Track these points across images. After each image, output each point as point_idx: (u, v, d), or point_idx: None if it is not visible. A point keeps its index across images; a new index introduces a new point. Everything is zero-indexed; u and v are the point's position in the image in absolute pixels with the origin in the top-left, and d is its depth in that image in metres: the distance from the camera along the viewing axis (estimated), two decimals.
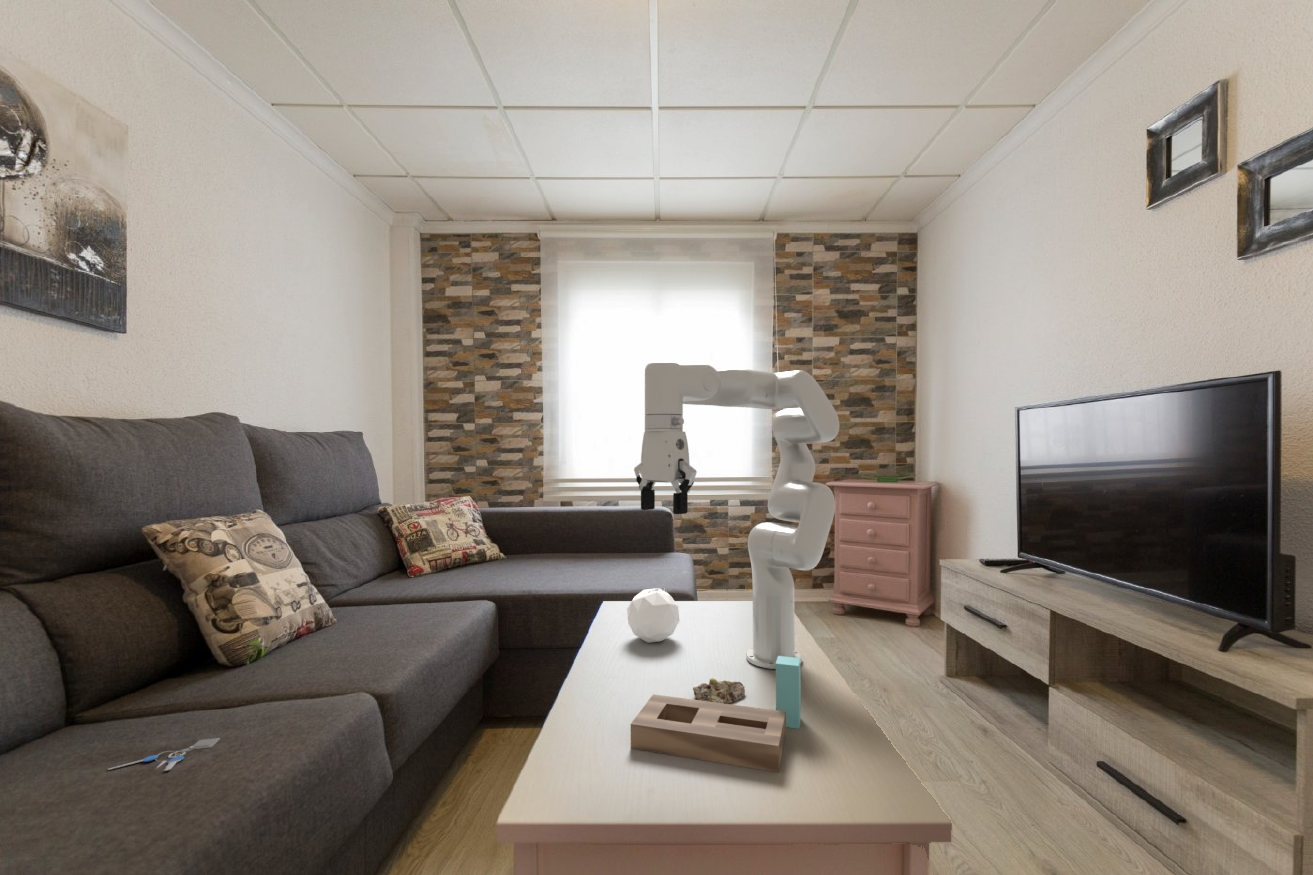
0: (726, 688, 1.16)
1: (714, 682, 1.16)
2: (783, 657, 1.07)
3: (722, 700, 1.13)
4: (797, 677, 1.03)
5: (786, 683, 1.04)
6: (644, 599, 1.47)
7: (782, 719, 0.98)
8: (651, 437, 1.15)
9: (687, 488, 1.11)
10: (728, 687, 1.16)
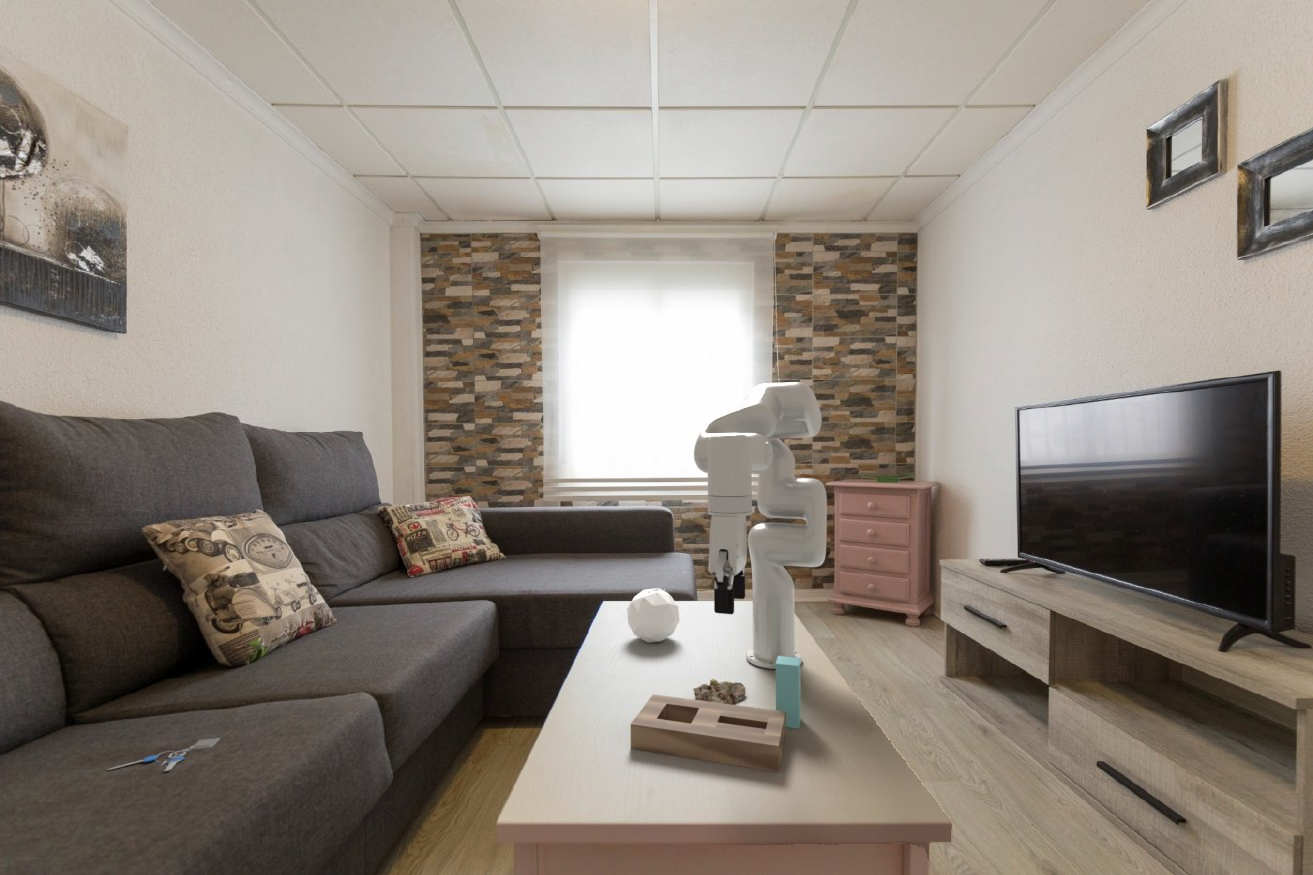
0: (726, 689, 1.15)
1: (715, 683, 1.16)
2: (783, 657, 1.07)
3: (723, 701, 1.12)
4: (797, 677, 1.03)
5: (786, 683, 1.04)
6: (644, 599, 1.47)
7: (782, 719, 0.98)
8: (743, 521, 0.99)
9: None
10: (729, 688, 1.16)
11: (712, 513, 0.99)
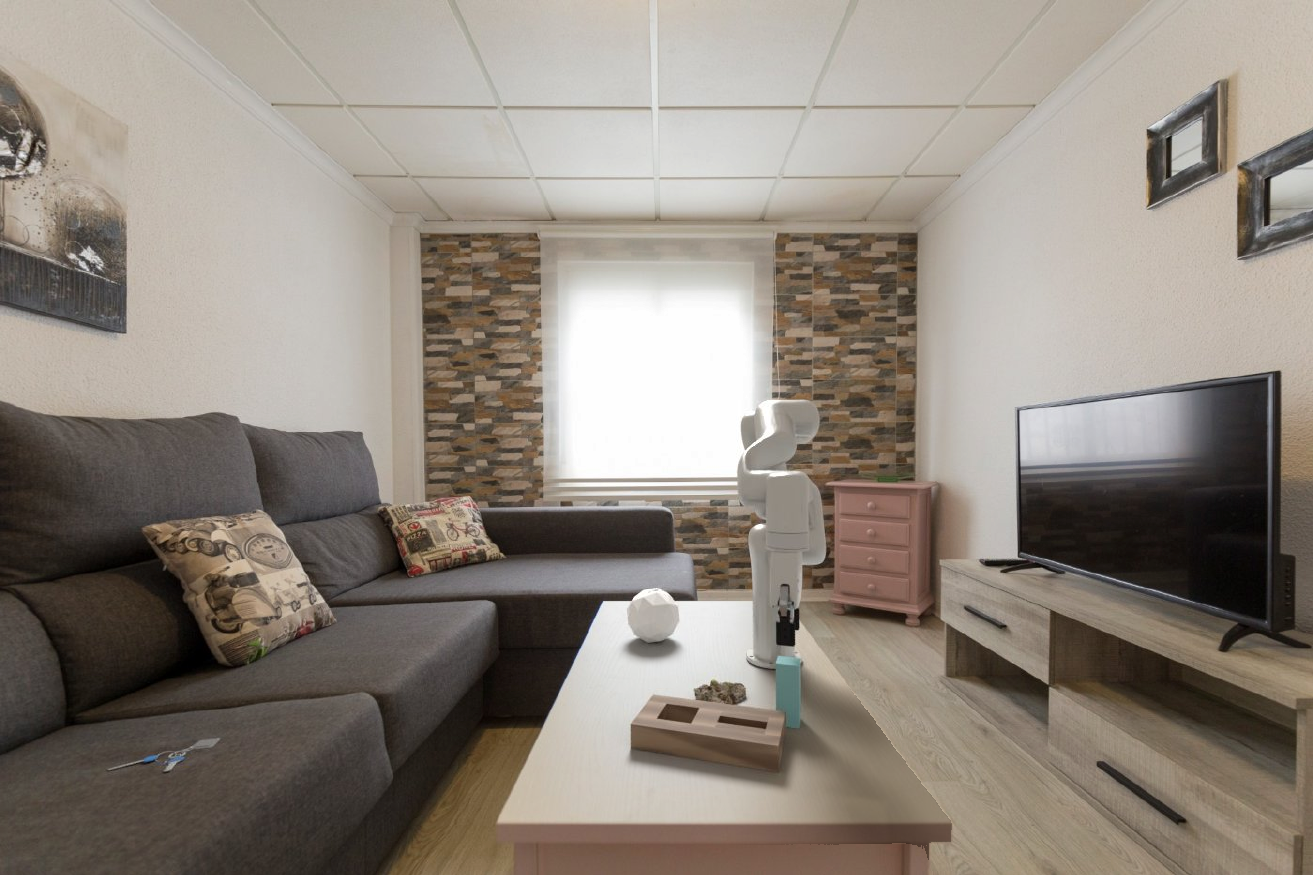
0: (727, 689, 1.15)
1: (715, 683, 1.16)
2: (783, 657, 1.07)
3: (723, 701, 1.12)
4: (797, 677, 1.03)
5: (786, 683, 1.04)
6: (644, 599, 1.47)
7: (782, 719, 0.98)
8: (801, 556, 1.04)
9: None
10: (729, 688, 1.16)
11: (772, 549, 1.04)
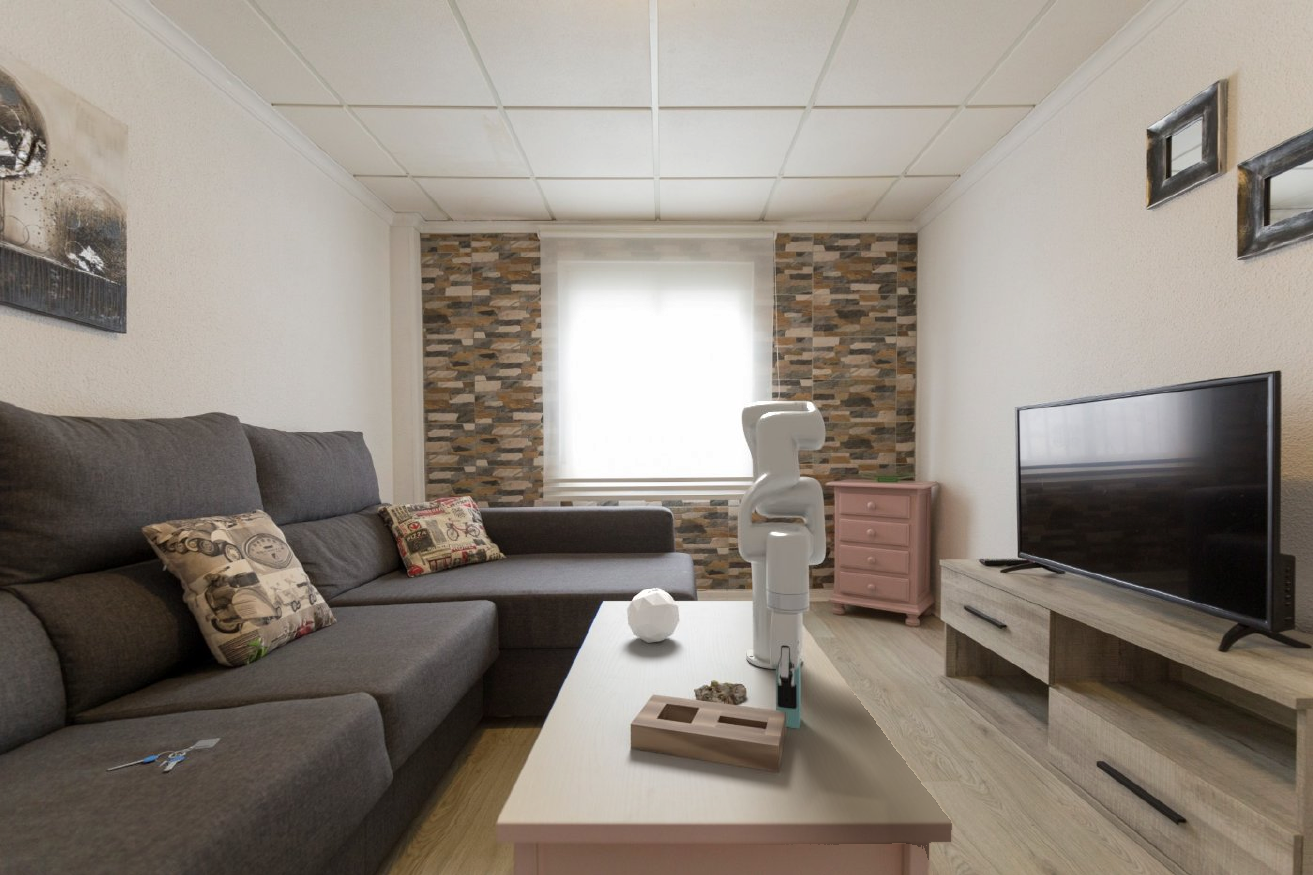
0: (727, 690, 1.15)
1: (715, 684, 1.15)
2: None
3: (723, 702, 1.12)
4: (797, 677, 1.03)
5: None
6: (644, 599, 1.47)
7: (782, 719, 0.98)
8: (801, 616, 1.04)
9: None
10: (730, 689, 1.15)
11: (772, 609, 1.04)
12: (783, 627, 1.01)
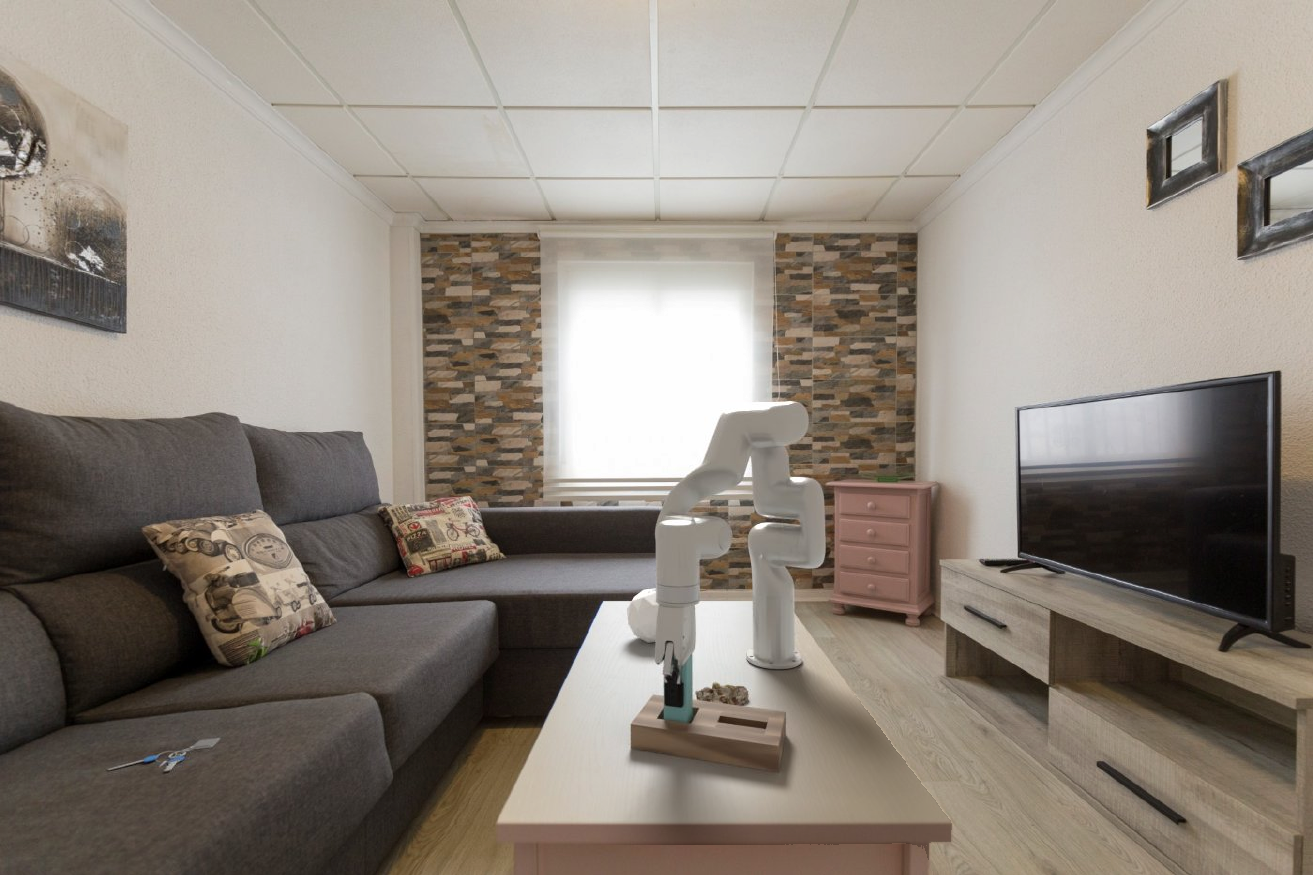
0: (729, 692, 1.14)
1: (717, 686, 1.14)
2: None
3: None
4: (685, 674, 0.98)
5: None
6: (644, 599, 1.47)
7: (782, 719, 0.98)
8: (690, 610, 0.99)
9: None
10: (731, 691, 1.14)
11: (659, 602, 0.99)
12: (668, 621, 0.96)
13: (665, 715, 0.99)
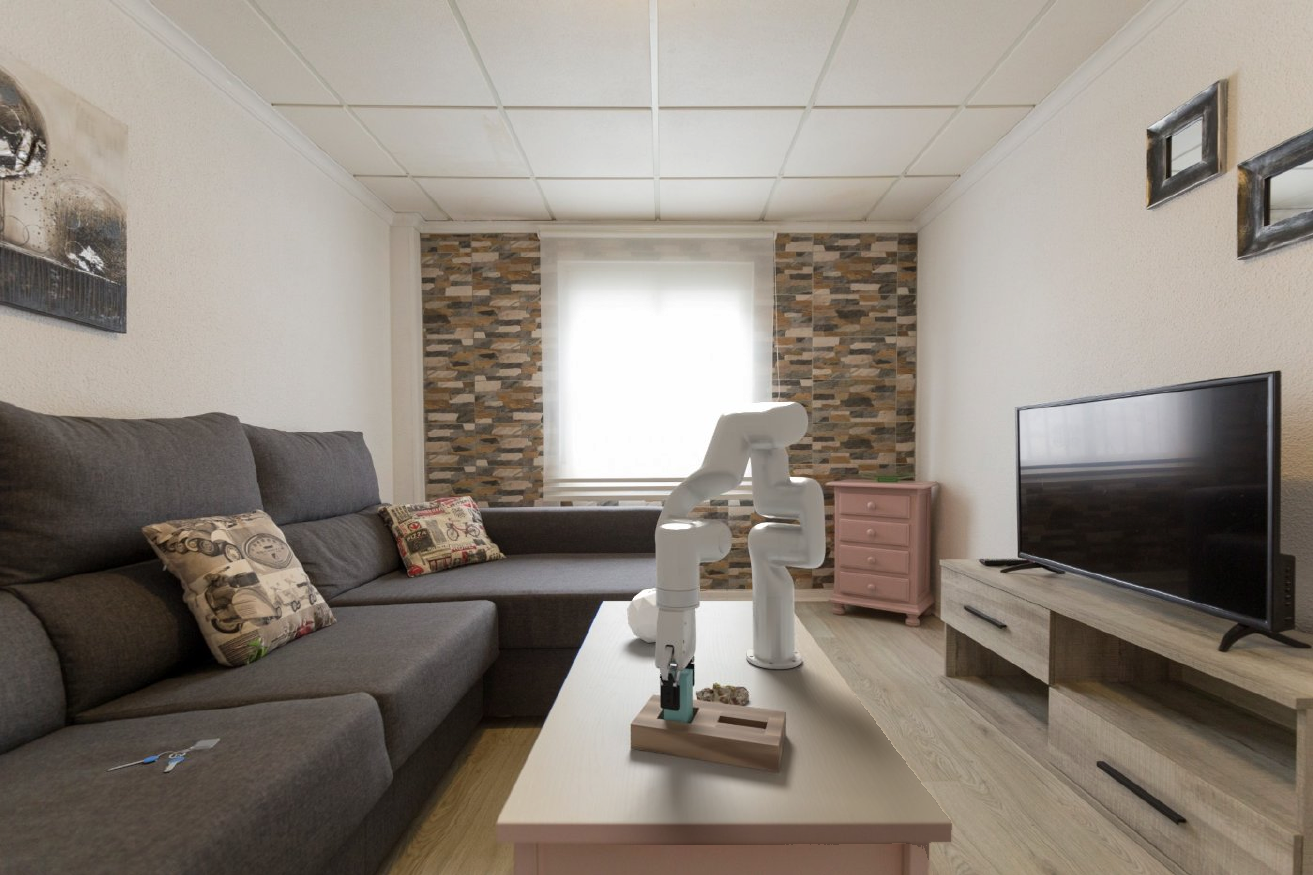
0: (729, 693, 1.13)
1: (717, 687, 1.14)
2: None
3: None
4: (685, 690, 0.98)
5: None
6: (644, 599, 1.47)
7: (782, 719, 0.98)
8: (691, 613, 0.99)
9: None
10: (732, 692, 1.14)
11: (659, 606, 0.99)
12: (668, 625, 0.96)
13: None
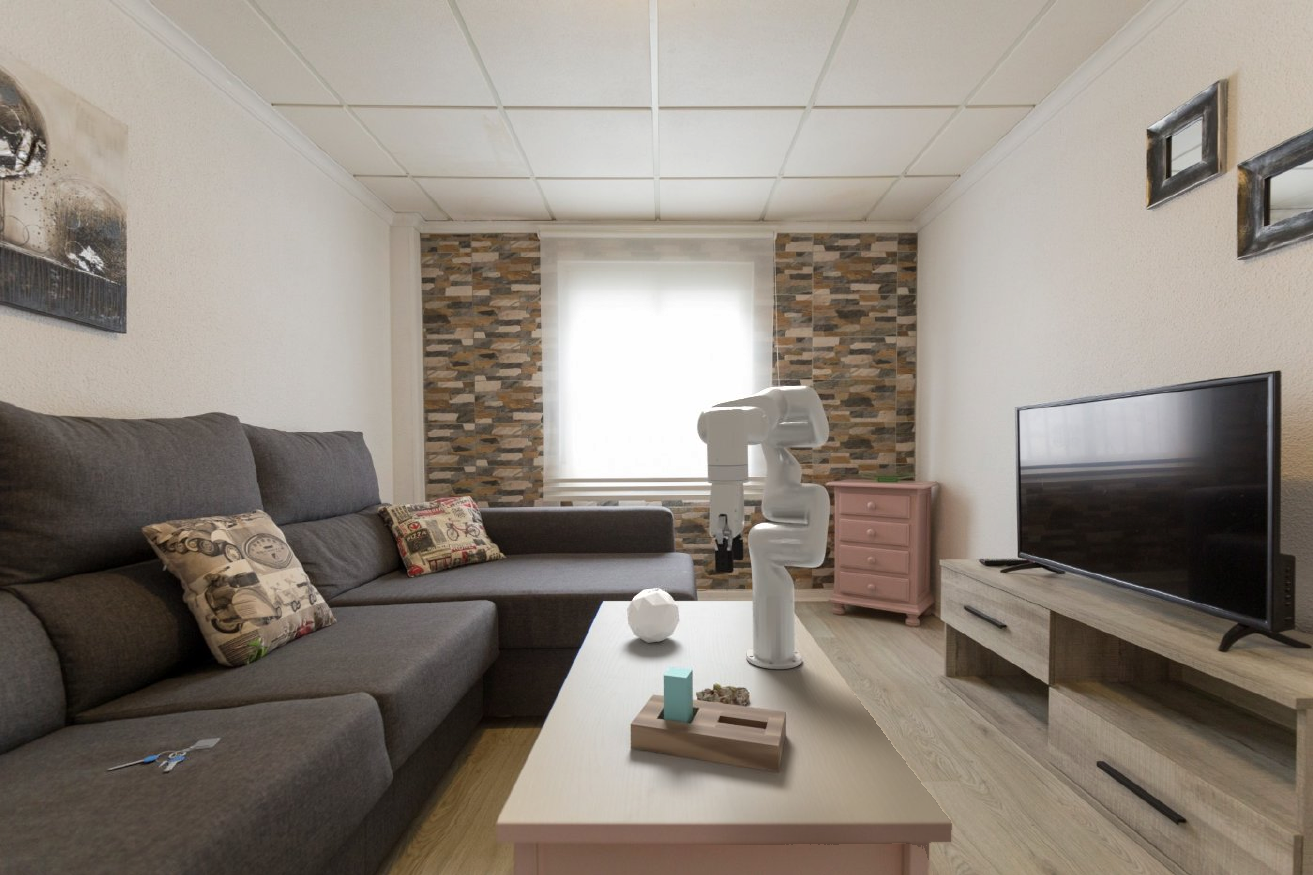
0: (730, 694, 1.13)
1: (718, 687, 1.14)
2: (675, 668, 1.02)
3: None
4: (685, 690, 0.98)
5: (674, 696, 0.99)
6: (644, 599, 1.47)
7: (782, 719, 0.98)
8: (741, 488, 1.08)
9: None
10: (732, 692, 1.13)
11: (712, 481, 1.07)
12: (721, 496, 1.05)
13: None
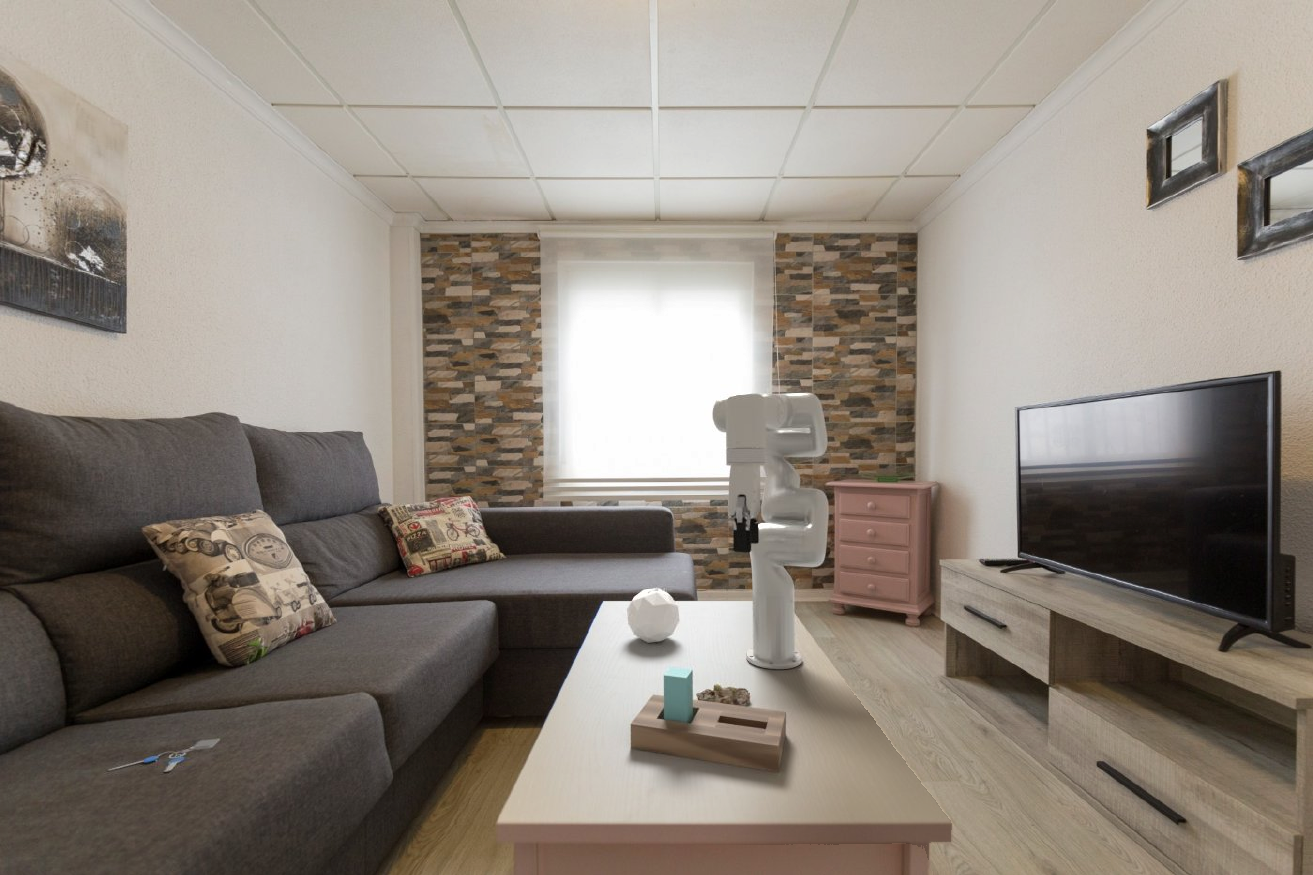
0: (730, 695, 1.12)
1: (718, 688, 1.13)
2: (675, 668, 1.02)
3: None
4: (685, 690, 0.98)
5: (674, 696, 0.99)
6: (644, 599, 1.47)
7: (782, 719, 0.98)
8: (758, 471, 1.11)
9: None
10: (733, 693, 1.13)
11: (731, 463, 1.10)
12: (740, 477, 1.08)
13: None
